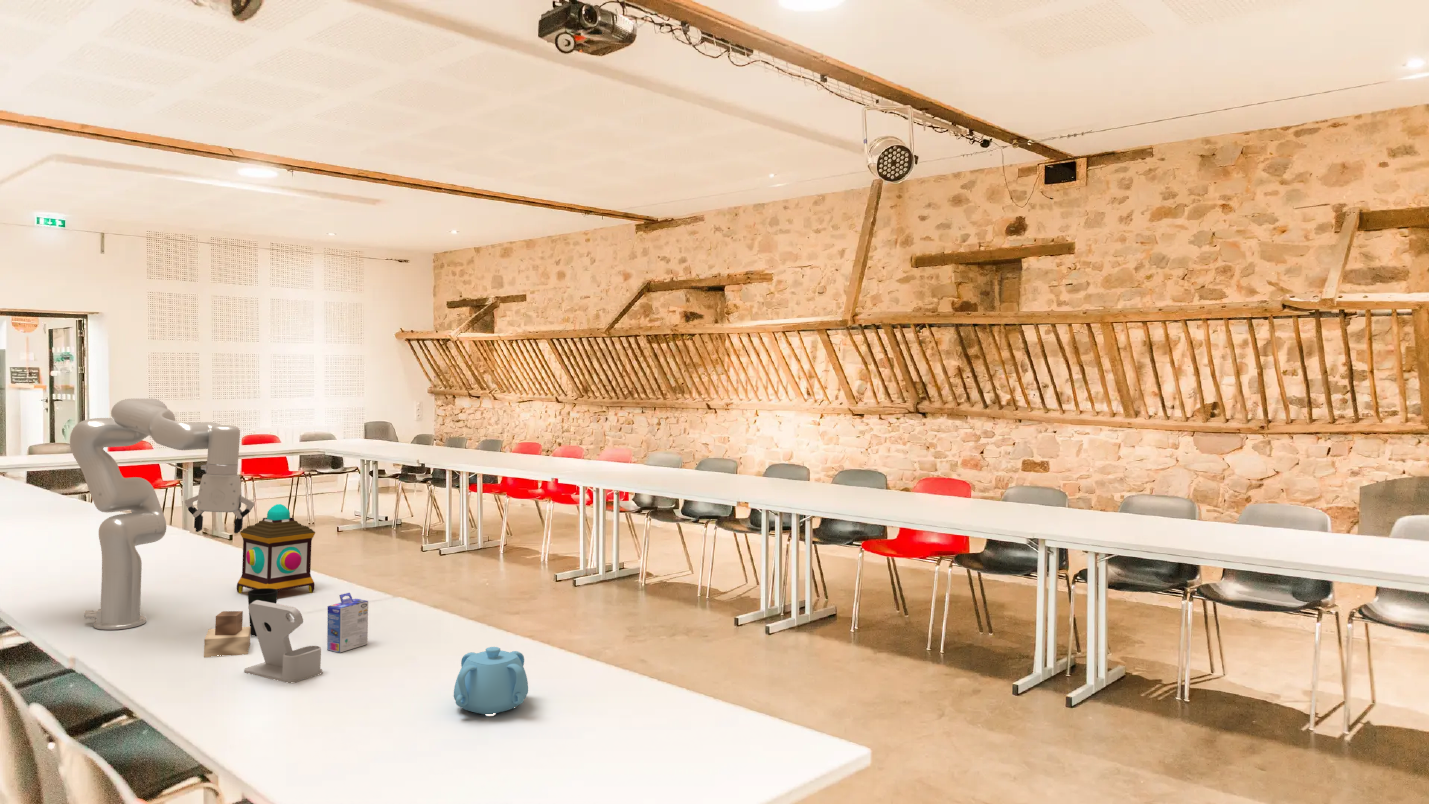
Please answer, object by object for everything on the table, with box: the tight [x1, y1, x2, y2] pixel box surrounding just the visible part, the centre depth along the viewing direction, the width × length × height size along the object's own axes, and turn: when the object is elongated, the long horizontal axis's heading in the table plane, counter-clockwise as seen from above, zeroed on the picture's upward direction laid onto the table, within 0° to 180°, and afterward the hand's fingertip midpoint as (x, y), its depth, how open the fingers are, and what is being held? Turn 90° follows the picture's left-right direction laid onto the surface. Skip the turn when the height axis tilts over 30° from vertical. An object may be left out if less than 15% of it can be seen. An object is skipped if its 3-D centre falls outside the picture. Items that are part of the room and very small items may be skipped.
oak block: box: [203, 626, 251, 658], centre depth 236 cm, size 10×10×5 cm
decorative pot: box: [453, 646, 529, 715], centre depth 203 cm, size 16×16×14 cm
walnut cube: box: [214, 610, 244, 635], centre depth 236 cm, size 5×5×5 cm
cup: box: [247, 588, 279, 637], centre depth 252 cm, size 8×8×12 cm
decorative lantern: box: [236, 503, 316, 594], centre depth 299 cm, size 20×20×30 cm
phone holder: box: [243, 600, 323, 684], centre depth 220 cm, size 17×10×18 cm, turn 66°
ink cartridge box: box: [326, 592, 369, 653], centre depth 243 cm, size 10×6×14 cm, turn 155°
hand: (218, 531), depth 246 cm, fingers open, 9 cm apart
